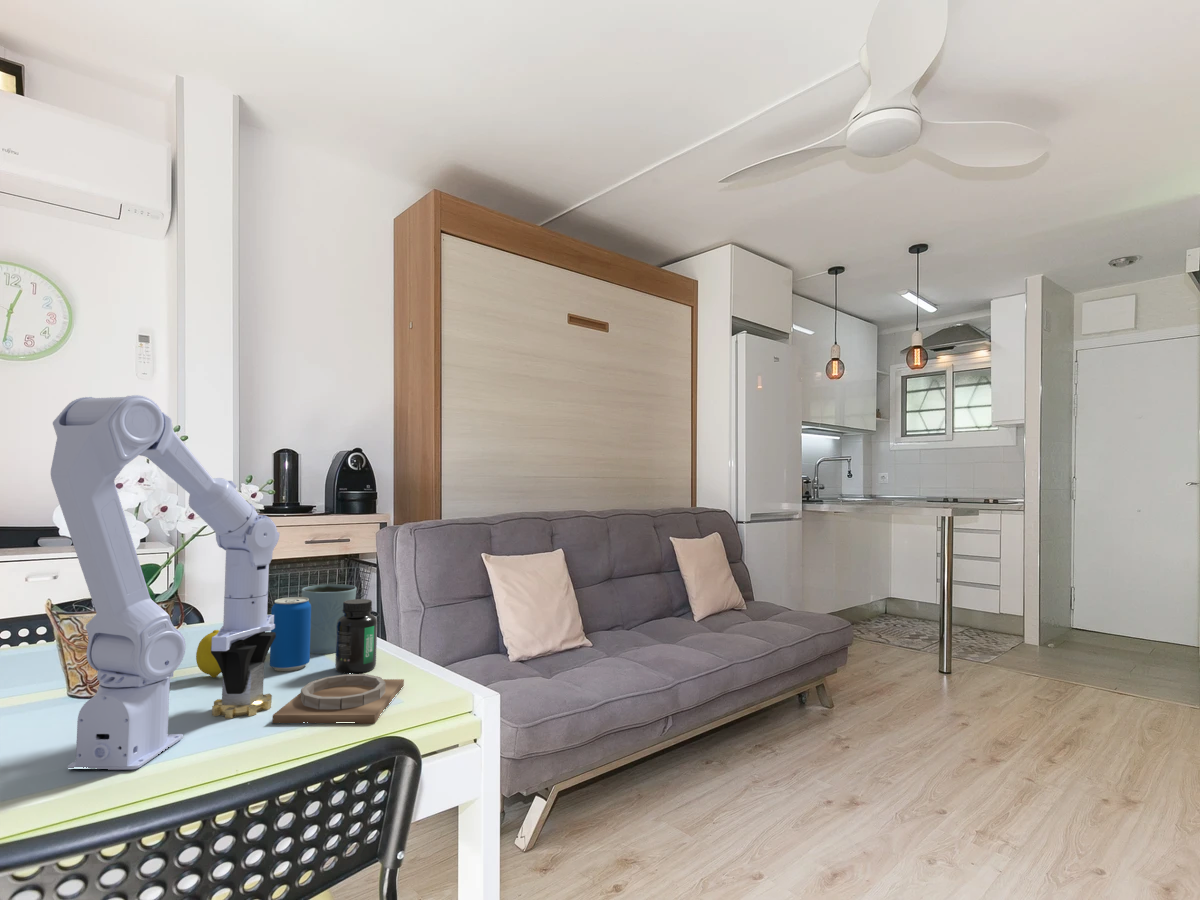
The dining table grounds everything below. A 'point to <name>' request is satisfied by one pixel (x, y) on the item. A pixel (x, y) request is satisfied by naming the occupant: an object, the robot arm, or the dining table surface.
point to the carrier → (340, 700)
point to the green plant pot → (326, 614)
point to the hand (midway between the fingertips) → (243, 688)
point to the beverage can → (291, 634)
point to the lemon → (207, 656)
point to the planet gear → (245, 696)
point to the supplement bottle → (356, 637)
